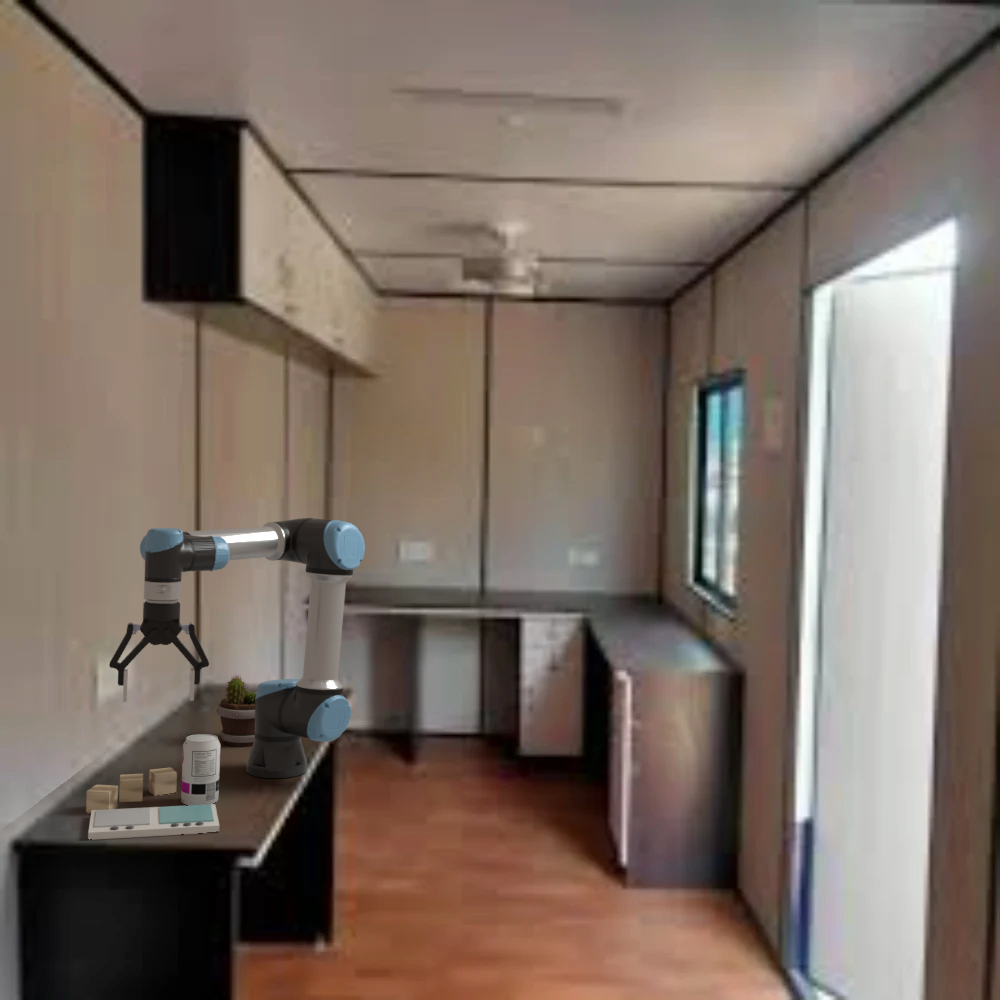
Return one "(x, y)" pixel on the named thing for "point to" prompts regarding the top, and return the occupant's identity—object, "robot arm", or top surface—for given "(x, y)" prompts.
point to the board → (152, 821)
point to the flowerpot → (237, 714)
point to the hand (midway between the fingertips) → (158, 700)
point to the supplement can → (200, 770)
